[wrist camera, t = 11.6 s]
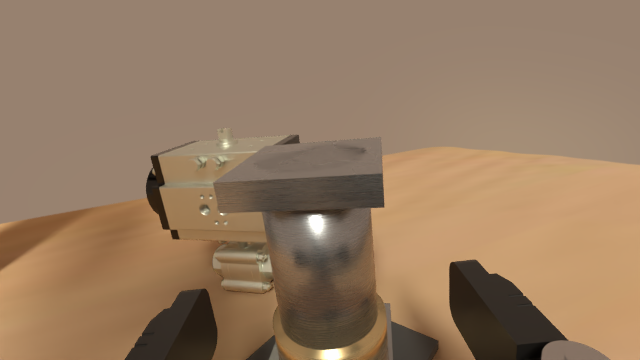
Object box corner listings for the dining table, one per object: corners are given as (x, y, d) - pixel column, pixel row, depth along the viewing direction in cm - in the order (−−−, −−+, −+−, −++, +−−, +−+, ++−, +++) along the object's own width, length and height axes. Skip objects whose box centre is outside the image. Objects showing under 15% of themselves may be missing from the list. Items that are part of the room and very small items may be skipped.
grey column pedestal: (261, 409, 15) (212, 182, 12) (293, 318, 21) (265, 146, 18) (396, 420, 14) (382, 173, 11) (390, 320, 20) (380, 137, 16)
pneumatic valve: (206, 260, 30) (174, 128, 26) (333, 268, 27) (316, 117, 23) (164, 300, 25) (117, 143, 21) (313, 315, 22) (287, 132, 18)
